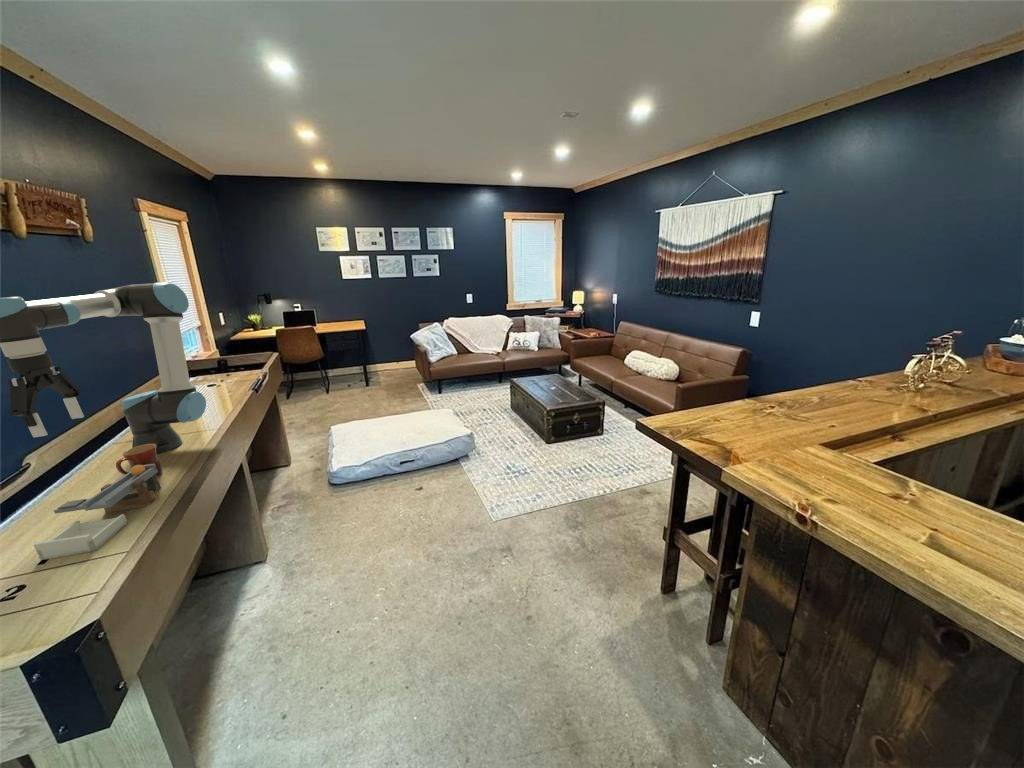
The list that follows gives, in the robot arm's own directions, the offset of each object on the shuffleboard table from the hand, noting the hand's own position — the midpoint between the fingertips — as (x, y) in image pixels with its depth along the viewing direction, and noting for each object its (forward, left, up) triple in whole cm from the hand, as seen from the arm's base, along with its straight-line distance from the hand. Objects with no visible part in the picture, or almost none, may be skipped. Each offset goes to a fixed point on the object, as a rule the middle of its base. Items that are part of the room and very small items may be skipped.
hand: (60, 426), depth 114 cm
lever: (+4, +9, -21) cm, 23 cm away
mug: (-15, +5, -26) cm, 31 cm away
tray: (+21, +13, -26) cm, 36 cm away
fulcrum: (+1, +13, -26) cm, 29 cm away
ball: (-3, +13, -18) cm, 22 cm away
